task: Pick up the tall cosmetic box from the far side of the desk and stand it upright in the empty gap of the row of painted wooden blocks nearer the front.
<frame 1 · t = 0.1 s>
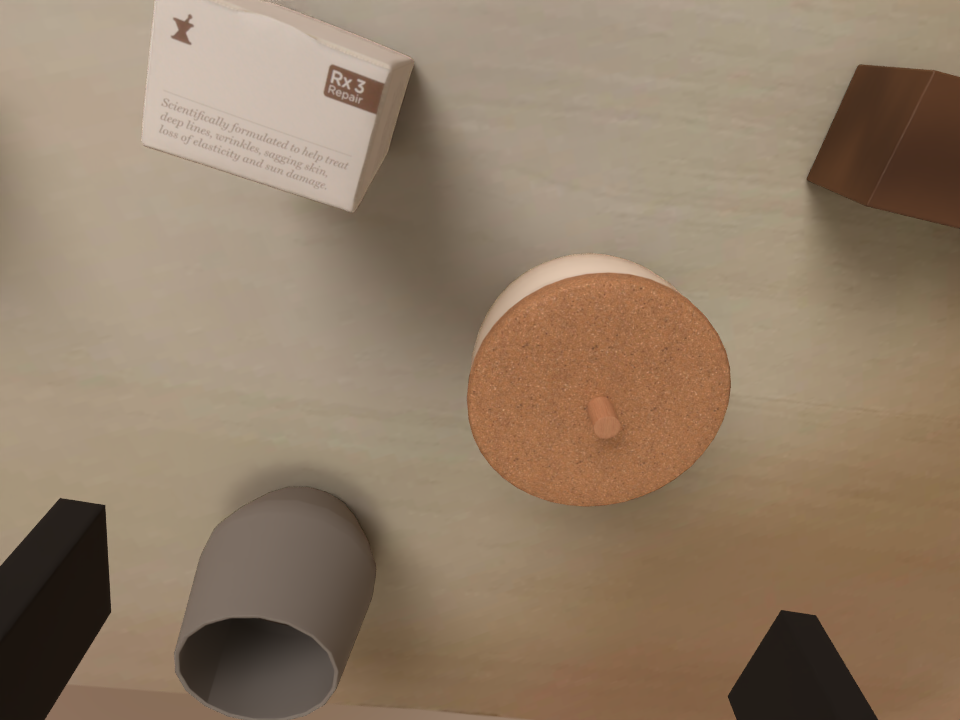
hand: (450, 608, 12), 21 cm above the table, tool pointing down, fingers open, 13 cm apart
cosmetic box: (341, 79, 27), on the table
cup: (306, 521, 38), on the table
walnut block: (881, 137, 29), on the table
trinket box: (570, 325, 33), on the table
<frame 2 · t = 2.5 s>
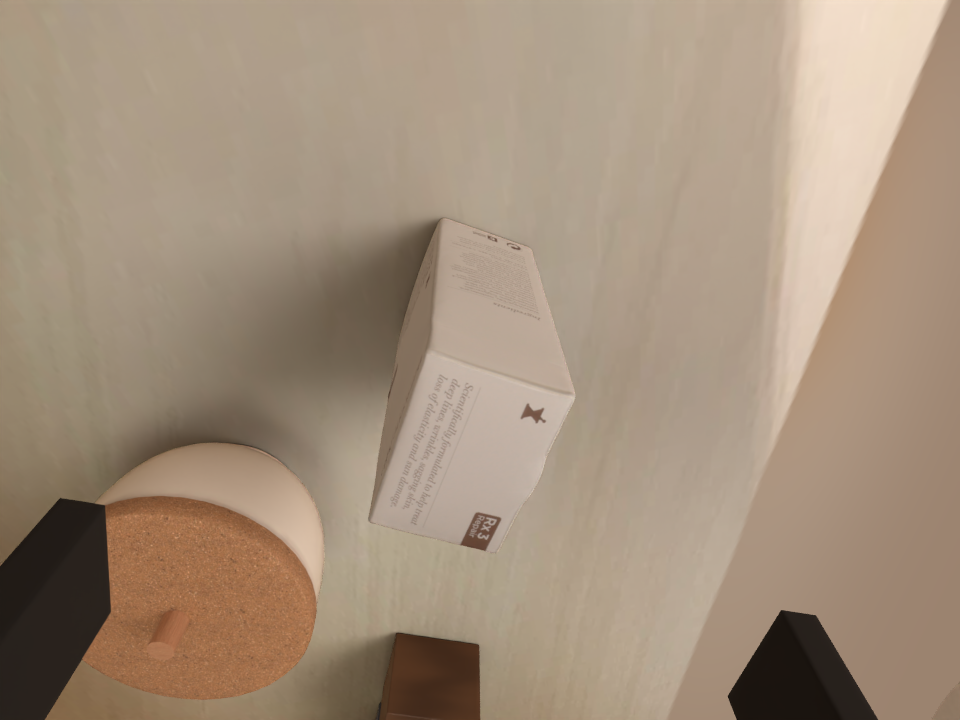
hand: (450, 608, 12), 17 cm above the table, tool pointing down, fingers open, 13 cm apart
cosmetic box: (465, 294, 28), on the table
walnut block: (430, 666, 39), on the table
trinket box: (241, 490, 33), on the table
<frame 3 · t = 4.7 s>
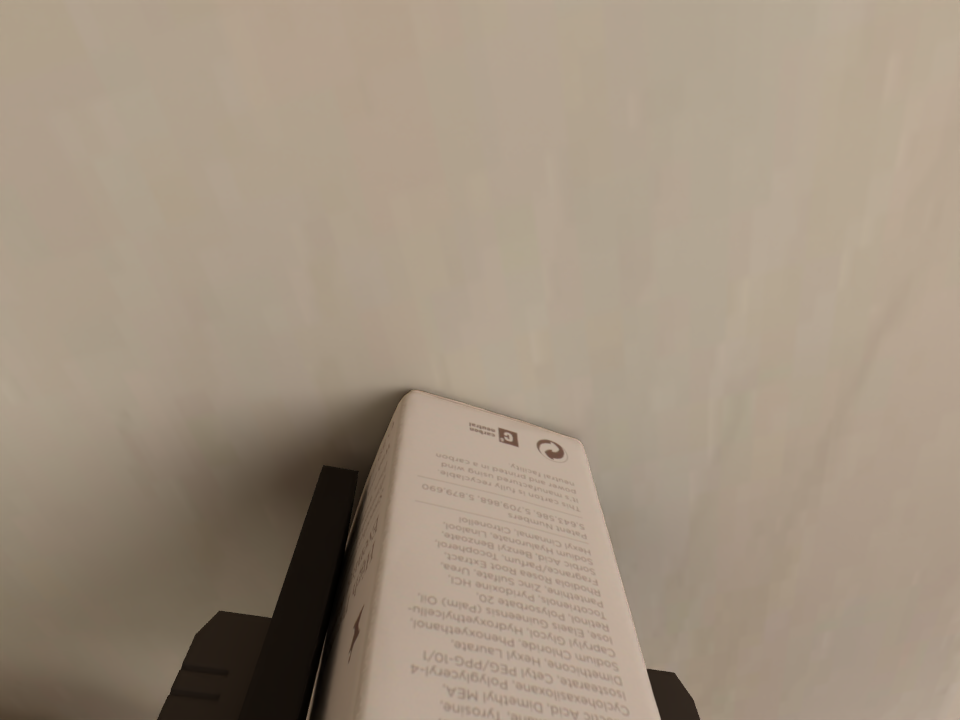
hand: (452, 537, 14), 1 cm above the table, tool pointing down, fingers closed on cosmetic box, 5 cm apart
cosmetic box: (456, 509, 15), on the table, touching gripper
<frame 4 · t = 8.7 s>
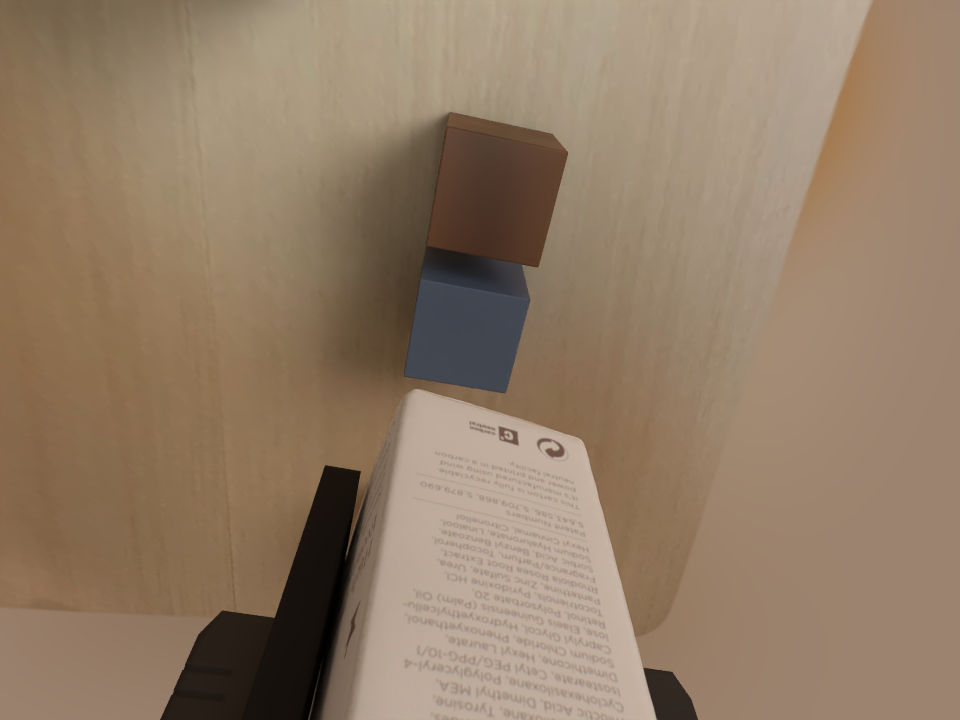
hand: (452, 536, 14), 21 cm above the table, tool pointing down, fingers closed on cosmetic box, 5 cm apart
cosmetic box: (459, 508, 15), point 20 cm above the table, touching gripper
slate blue block: (465, 298, 34), on the table
walnut block: (490, 176, 31), on the table
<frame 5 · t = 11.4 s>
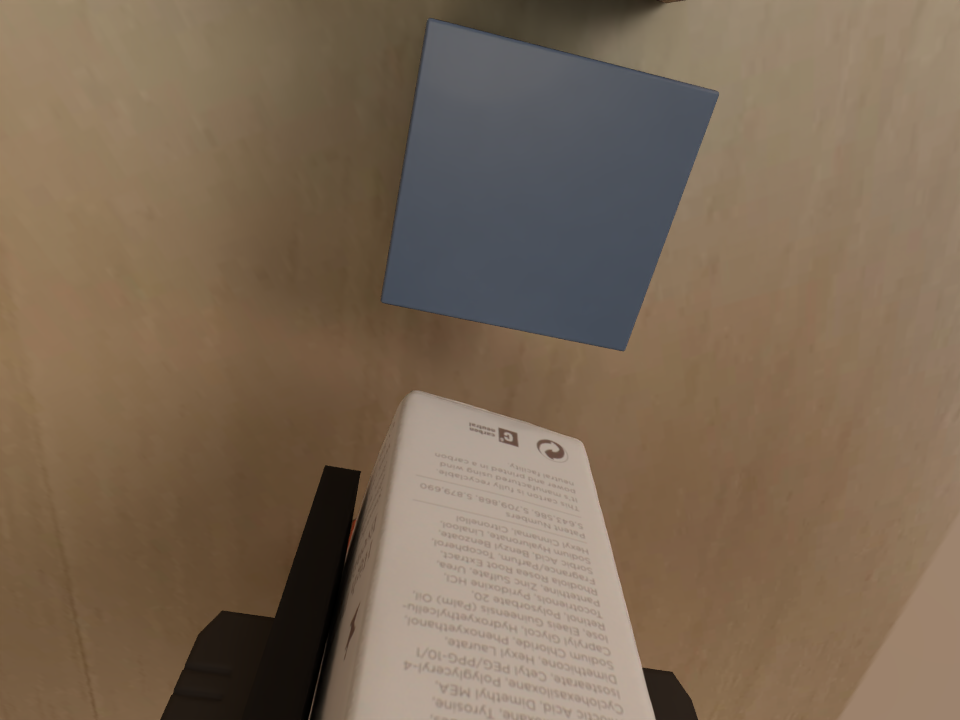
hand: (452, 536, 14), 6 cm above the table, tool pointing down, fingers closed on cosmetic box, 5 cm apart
cosmetic box: (459, 509, 15), point 5 cm above the table, touching gripper
slate blue block: (519, 157, 16), on the table
when the fingers open (1 cm above the table, at t = 13.0 s): cosmetic box stays where it is, on the table.
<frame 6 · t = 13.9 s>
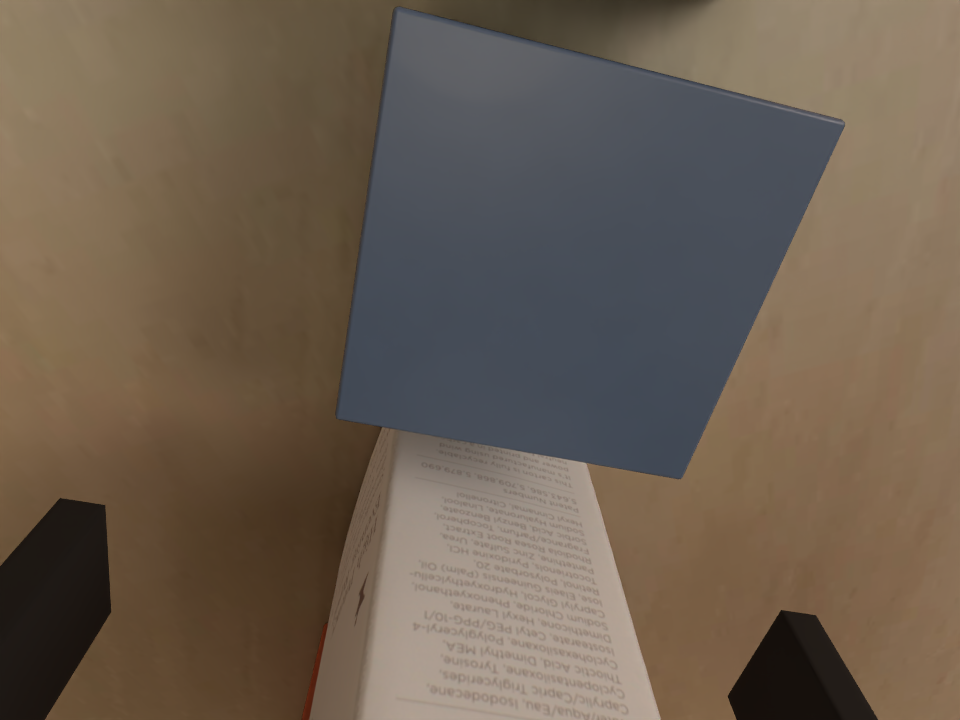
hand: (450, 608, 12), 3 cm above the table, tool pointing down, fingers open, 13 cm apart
cosmetic box: (455, 492, 16), on the table
terracotta block: (399, 691, 19), on the table
slate blue block: (528, 193, 12), on the table
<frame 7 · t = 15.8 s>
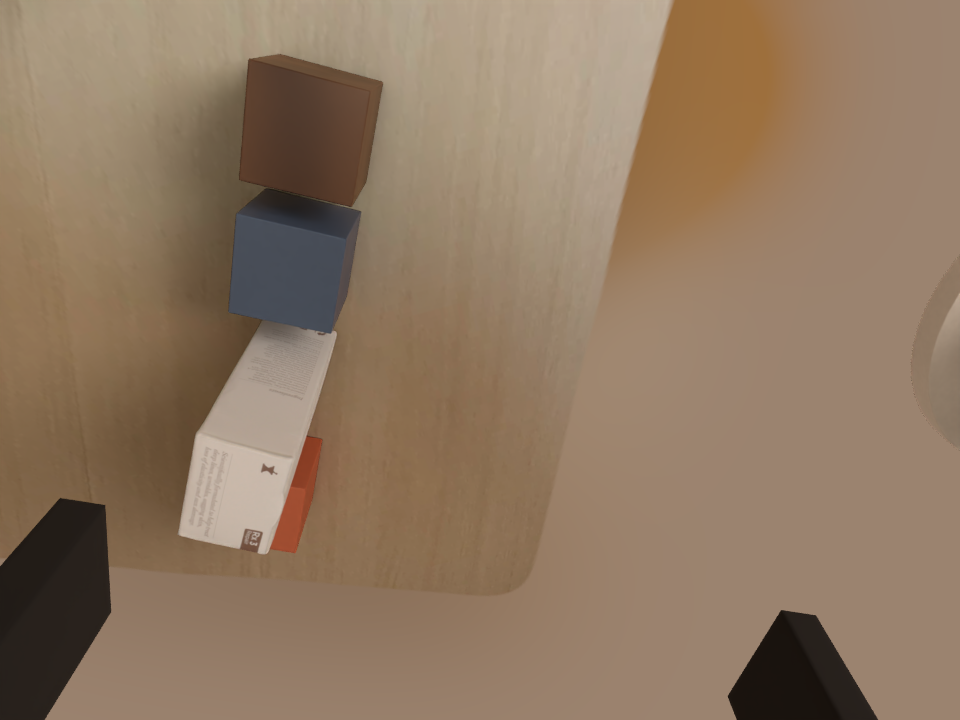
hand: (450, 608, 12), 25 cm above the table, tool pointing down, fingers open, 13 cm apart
cosmetic box: (295, 362, 38), on the table
terracotta block: (278, 462, 41), on the table
slate blue block: (307, 244, 34), on the table
walnut block: (324, 121, 31), on the table
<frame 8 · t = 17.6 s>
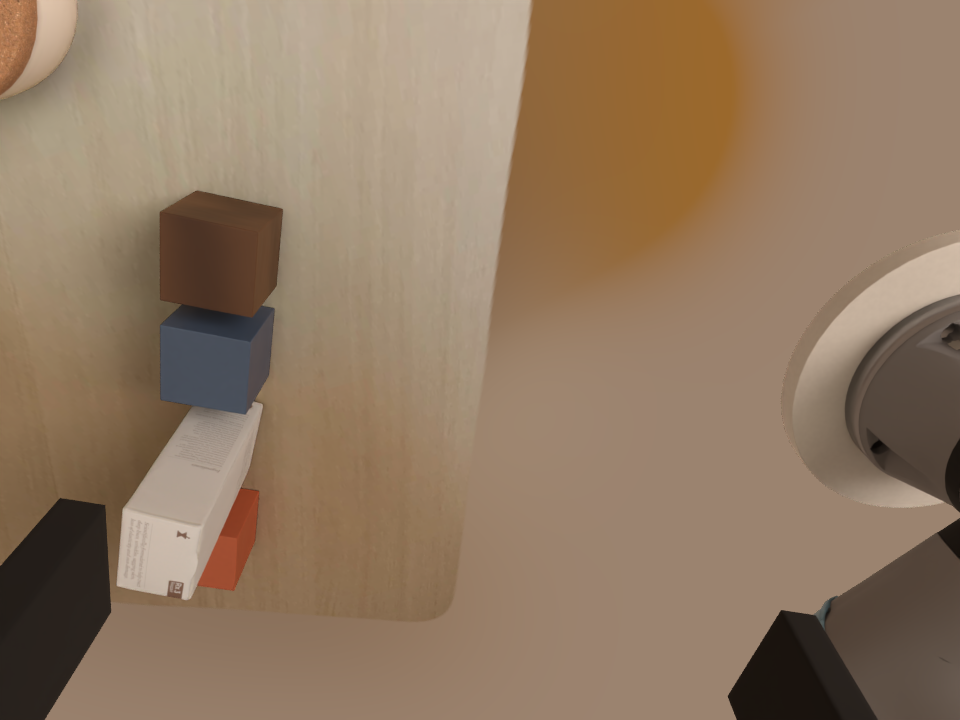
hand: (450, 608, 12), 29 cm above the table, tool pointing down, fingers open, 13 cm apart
cosmetic box: (230, 428, 45), on the table
terracotta block: (223, 511, 48), on the table
slate blue block: (232, 335, 41), on the table
walnut block: (237, 240, 38), on the table
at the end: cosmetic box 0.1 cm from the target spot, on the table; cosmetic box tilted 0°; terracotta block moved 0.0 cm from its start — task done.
